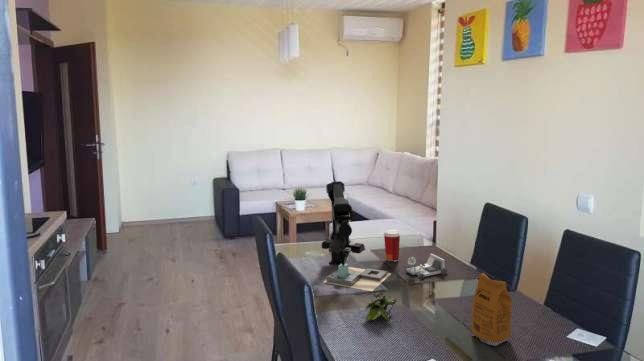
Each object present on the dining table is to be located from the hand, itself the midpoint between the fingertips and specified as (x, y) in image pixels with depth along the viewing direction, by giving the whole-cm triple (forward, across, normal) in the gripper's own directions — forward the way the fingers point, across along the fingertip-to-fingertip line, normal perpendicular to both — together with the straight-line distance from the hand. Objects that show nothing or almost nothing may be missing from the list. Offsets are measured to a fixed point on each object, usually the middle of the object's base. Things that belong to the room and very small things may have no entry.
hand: (343, 264), depth 228 cm
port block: (+8, 0, 0) cm, 8 cm away
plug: (+7, 0, 0) cm, 7 cm away
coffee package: (+8, +68, -25) cm, 73 cm away
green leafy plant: (+8, +29, -26) cm, 40 cm away
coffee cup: (+8, +10, +33) cm, 35 cm away
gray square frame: (+8, +10, +10) cm, 16 cm away
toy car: (+9, +29, +24) cm, 38 cm away
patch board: (+8, +4, +4) cm, 10 cm away
